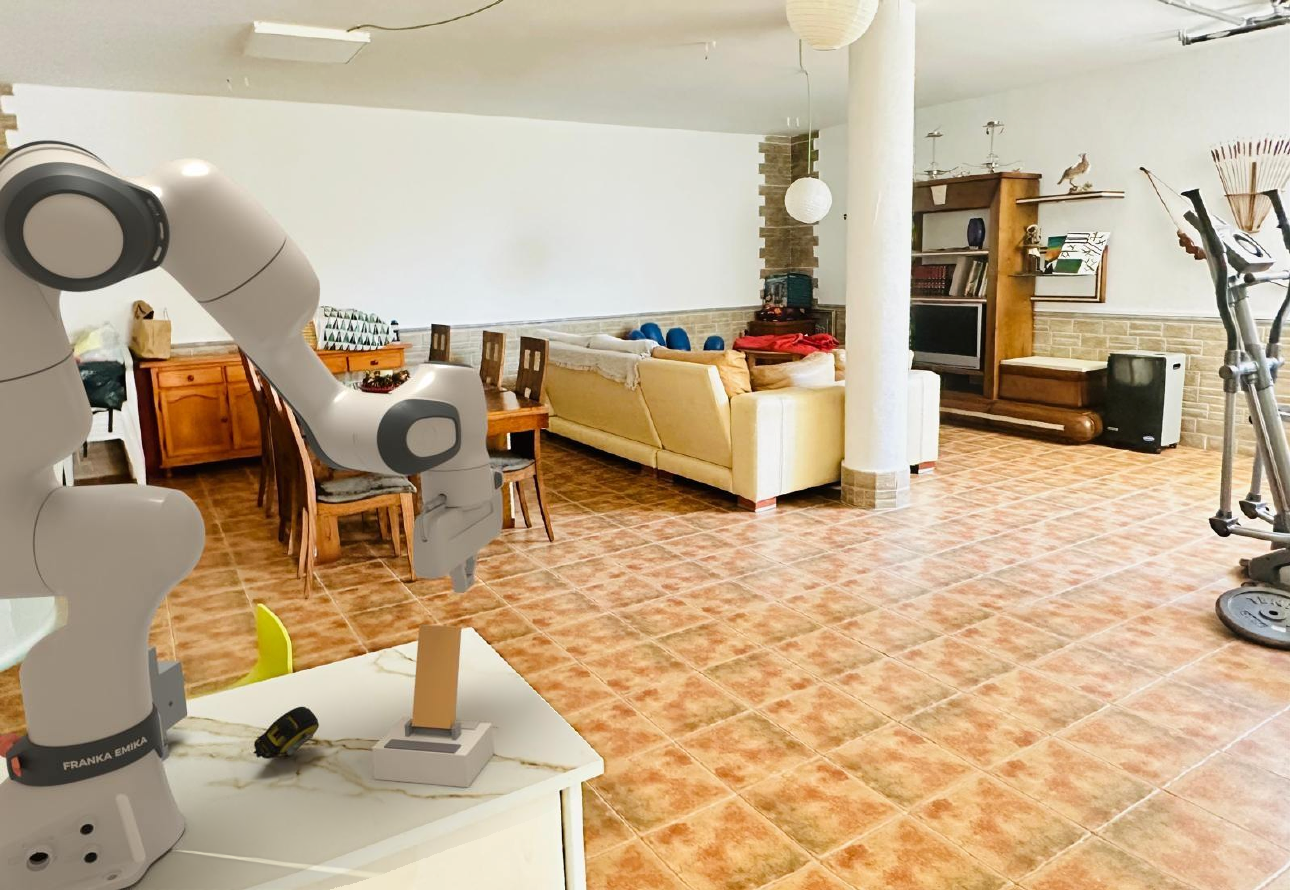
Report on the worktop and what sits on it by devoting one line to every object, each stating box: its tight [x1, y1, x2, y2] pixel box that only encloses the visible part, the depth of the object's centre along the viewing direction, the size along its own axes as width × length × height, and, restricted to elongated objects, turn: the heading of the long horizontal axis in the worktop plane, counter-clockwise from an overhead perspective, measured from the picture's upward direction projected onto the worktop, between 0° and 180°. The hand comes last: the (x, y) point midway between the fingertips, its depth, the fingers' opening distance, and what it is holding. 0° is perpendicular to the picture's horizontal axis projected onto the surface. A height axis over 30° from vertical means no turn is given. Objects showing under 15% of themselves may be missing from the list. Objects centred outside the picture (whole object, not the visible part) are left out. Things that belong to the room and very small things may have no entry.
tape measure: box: [253, 706, 320, 760], centre depth 109 cm, size 7×7×4 cm
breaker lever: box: [411, 624, 462, 736], centre depth 108 cm, size 1×5×13 cm, turn 78°
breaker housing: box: [371, 716, 495, 788], centre depth 107 cm, size 8×12×6 cm, turn 78°
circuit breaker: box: [148, 646, 188, 762], centre depth 110 cm, size 8×14×15 cm, turn 174°
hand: (464, 589), depth 115 cm, fingers closed
